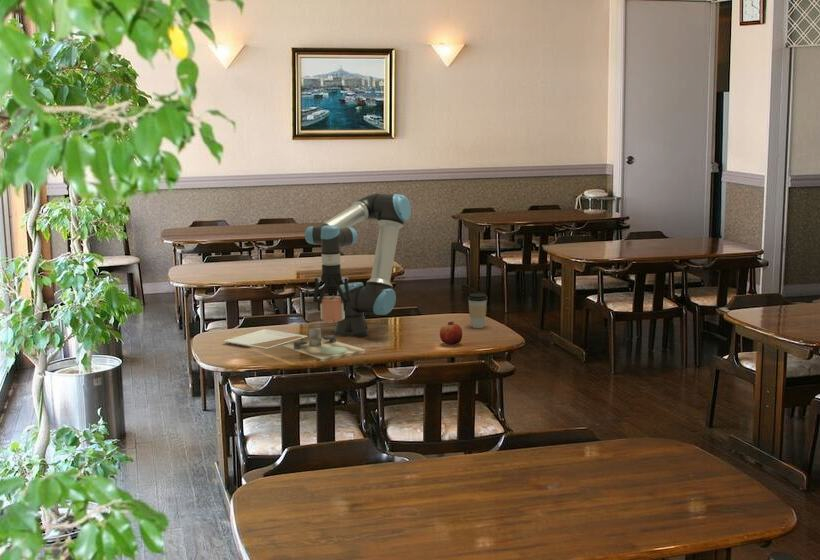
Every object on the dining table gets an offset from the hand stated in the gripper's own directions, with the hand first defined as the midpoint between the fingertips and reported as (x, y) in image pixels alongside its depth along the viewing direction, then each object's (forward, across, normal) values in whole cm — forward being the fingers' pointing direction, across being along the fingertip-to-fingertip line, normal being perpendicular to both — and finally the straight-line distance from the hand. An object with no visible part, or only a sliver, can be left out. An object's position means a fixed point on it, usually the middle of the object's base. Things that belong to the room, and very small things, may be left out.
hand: (332, 318), depth 403 cm
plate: (+16, -34, +20) cm, 42 cm away
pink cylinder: (0, 0, 0) cm, 0 cm away
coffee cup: (+15, +57, +52) cm, 79 cm away
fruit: (+15, +47, +18) cm, 53 cm away
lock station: (+15, -6, +6) cm, 17 cm away
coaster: (+14, 0, 0) cm, 14 cm away
